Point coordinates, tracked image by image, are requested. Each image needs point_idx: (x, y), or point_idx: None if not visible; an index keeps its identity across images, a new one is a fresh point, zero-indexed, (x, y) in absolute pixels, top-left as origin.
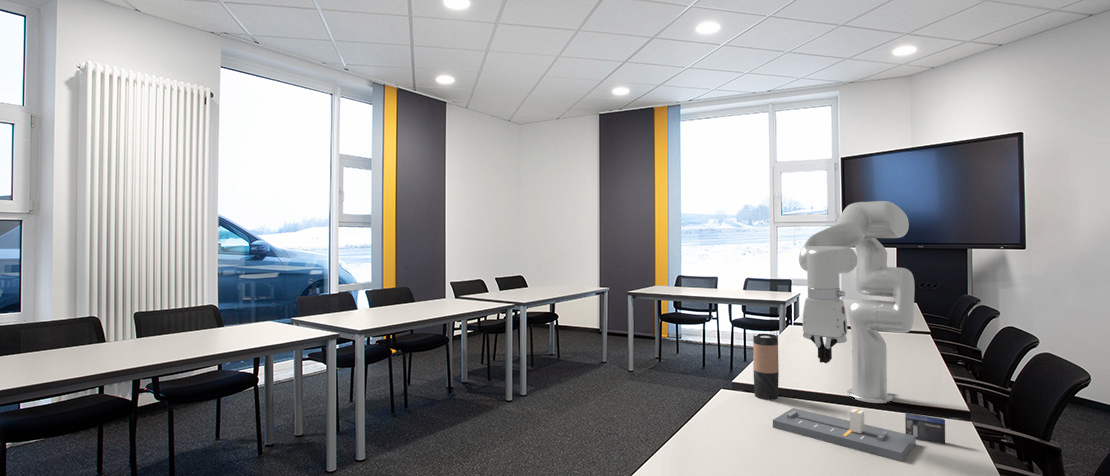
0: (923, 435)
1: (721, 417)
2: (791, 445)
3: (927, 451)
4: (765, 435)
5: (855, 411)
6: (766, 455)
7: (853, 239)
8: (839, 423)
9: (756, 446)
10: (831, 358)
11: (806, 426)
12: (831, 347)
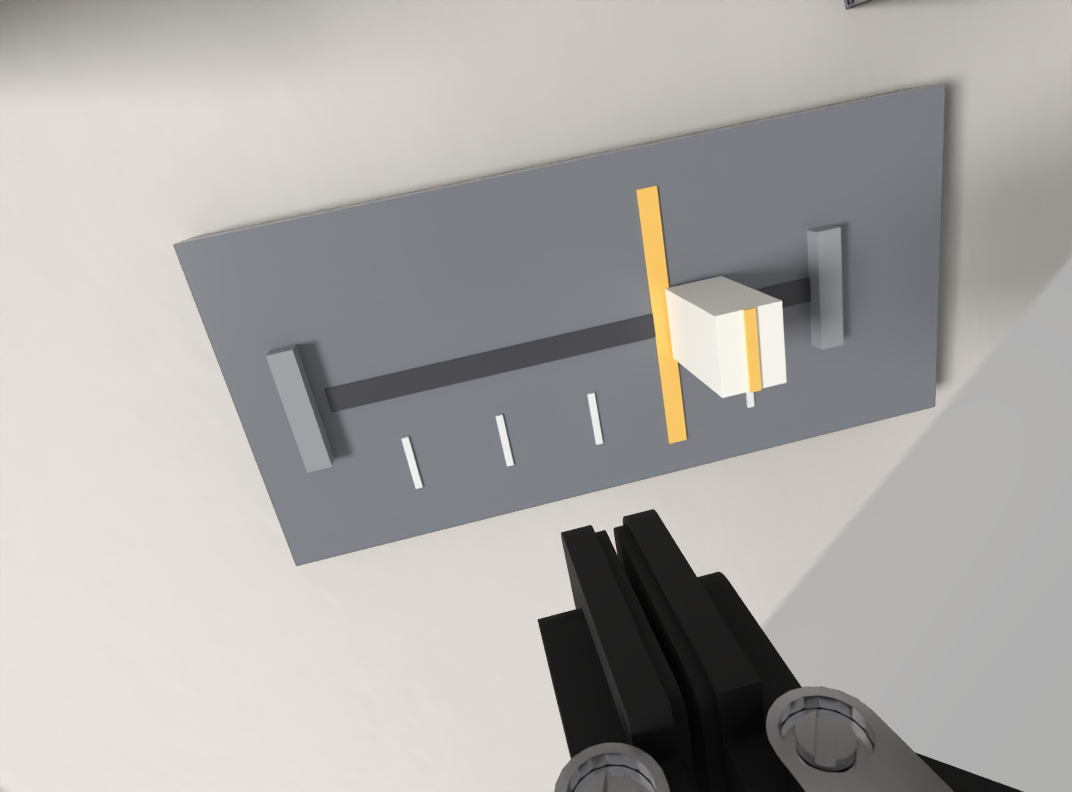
0: None
1: (23, 665)
2: (518, 639)
3: (971, 151)
4: (368, 651)
5: (752, 377)
6: (521, 787)
7: None
8: (562, 271)
9: (438, 764)
10: (720, 579)
11: (476, 489)
12: (820, 717)
